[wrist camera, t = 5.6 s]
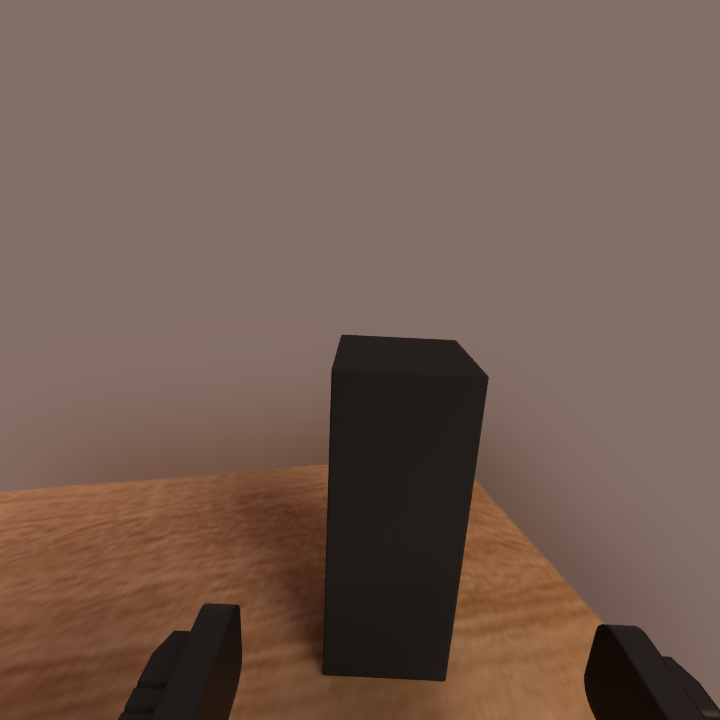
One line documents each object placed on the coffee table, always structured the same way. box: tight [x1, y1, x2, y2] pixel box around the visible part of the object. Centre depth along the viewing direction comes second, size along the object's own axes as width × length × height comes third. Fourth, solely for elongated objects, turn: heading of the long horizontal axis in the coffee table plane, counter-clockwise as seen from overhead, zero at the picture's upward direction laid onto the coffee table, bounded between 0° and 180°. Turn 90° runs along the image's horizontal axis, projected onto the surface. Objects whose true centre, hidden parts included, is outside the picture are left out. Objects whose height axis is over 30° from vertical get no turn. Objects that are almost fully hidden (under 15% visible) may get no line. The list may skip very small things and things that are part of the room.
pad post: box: [323, 335, 488, 681], centre depth 16 cm, size 5×5×12 cm
